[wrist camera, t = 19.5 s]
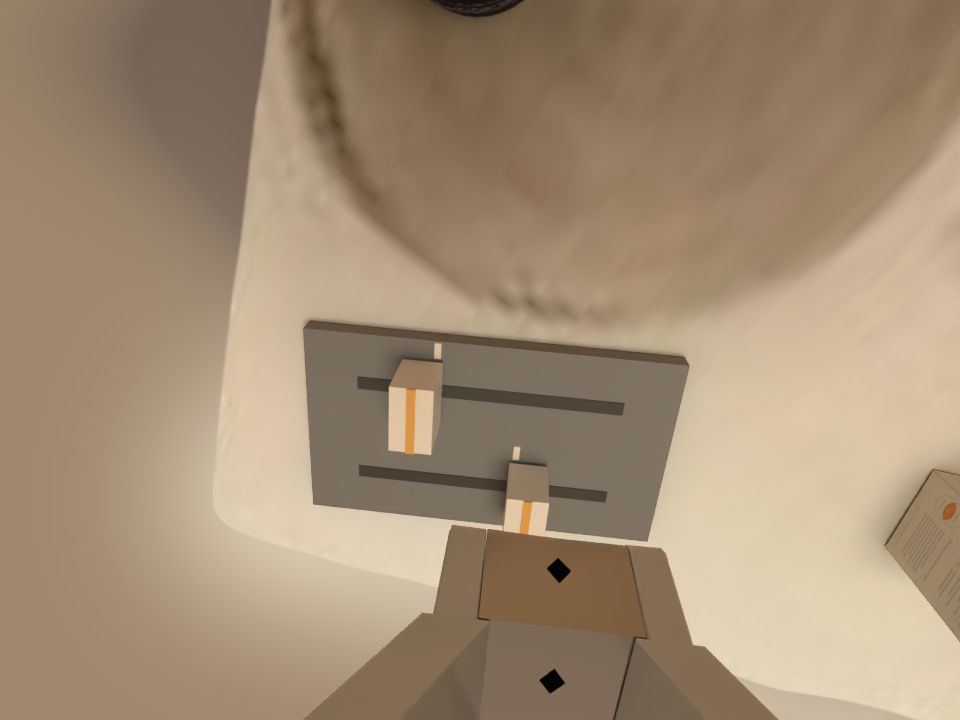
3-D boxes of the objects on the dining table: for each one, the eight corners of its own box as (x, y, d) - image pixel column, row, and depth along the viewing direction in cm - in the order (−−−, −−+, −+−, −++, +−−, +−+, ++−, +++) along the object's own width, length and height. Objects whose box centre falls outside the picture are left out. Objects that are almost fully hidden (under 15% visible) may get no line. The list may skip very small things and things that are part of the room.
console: (684, 357, 43) (690, 367, 42) (644, 529, 50) (647, 543, 48) (310, 321, 45) (302, 329, 43) (319, 493, 51) (312, 505, 50)
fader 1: (443, 363, 43) (433, 392, 39) (440, 422, 45) (430, 456, 41) (402, 358, 43) (388, 387, 39) (401, 418, 45) (387, 451, 41)
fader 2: (547, 466, 46) (549, 504, 42) (540, 518, 48) (541, 559, 44) (509, 462, 46) (506, 500, 42) (503, 514, 48) (500, 554, 44)
